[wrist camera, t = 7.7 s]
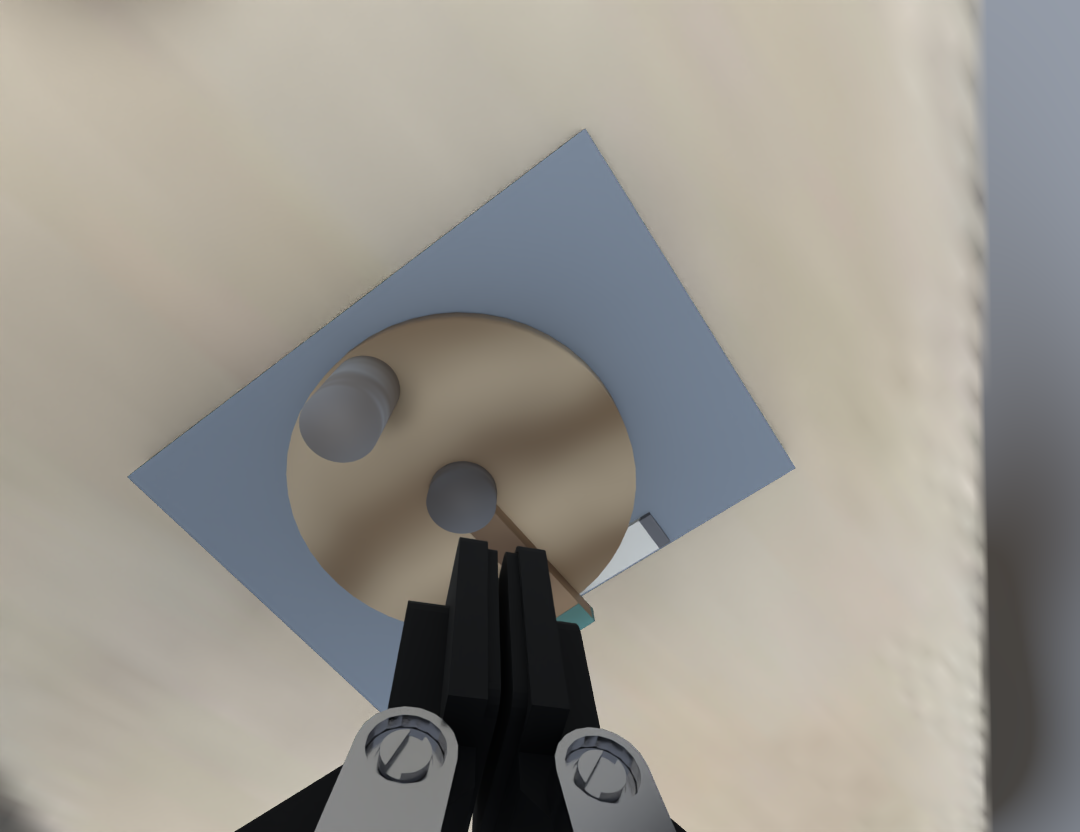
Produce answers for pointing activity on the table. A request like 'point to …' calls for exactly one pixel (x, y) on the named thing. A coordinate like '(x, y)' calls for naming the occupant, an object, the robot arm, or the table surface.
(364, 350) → the crank wheel
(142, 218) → the table surface
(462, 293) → the blue-grey base board
